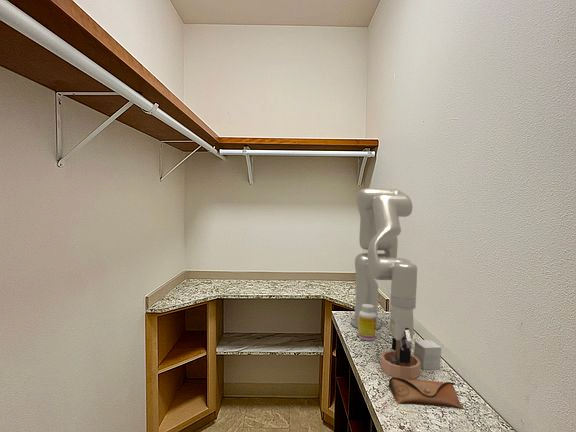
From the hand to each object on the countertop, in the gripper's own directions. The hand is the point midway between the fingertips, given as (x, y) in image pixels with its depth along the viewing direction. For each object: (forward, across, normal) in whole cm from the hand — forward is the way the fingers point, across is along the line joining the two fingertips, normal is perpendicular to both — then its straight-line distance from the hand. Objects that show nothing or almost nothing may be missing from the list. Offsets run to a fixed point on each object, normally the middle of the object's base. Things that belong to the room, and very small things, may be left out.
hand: (400, 355), depth 105 cm
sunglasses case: (+5, +15, +3) cm, 16 cm away
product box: (+5, -4, +10) cm, 12 cm away
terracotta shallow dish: (+5, 0, 0) cm, 5 cm away
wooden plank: (+4, 0, 0) cm, 4 cm away
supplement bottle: (+5, -25, -6) cm, 26 cm away
